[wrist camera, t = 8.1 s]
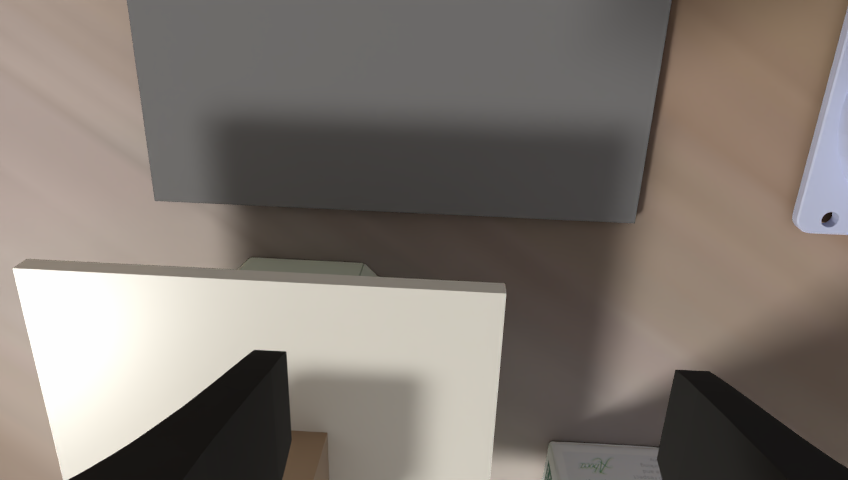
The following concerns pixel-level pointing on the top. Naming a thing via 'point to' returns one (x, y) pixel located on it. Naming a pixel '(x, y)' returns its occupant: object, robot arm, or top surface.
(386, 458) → the cover sheet
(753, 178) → the top surface
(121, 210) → the top surface
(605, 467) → the syrup box
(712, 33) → the top surface
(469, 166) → the charcoal mat
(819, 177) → the robot arm
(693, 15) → the top surface
